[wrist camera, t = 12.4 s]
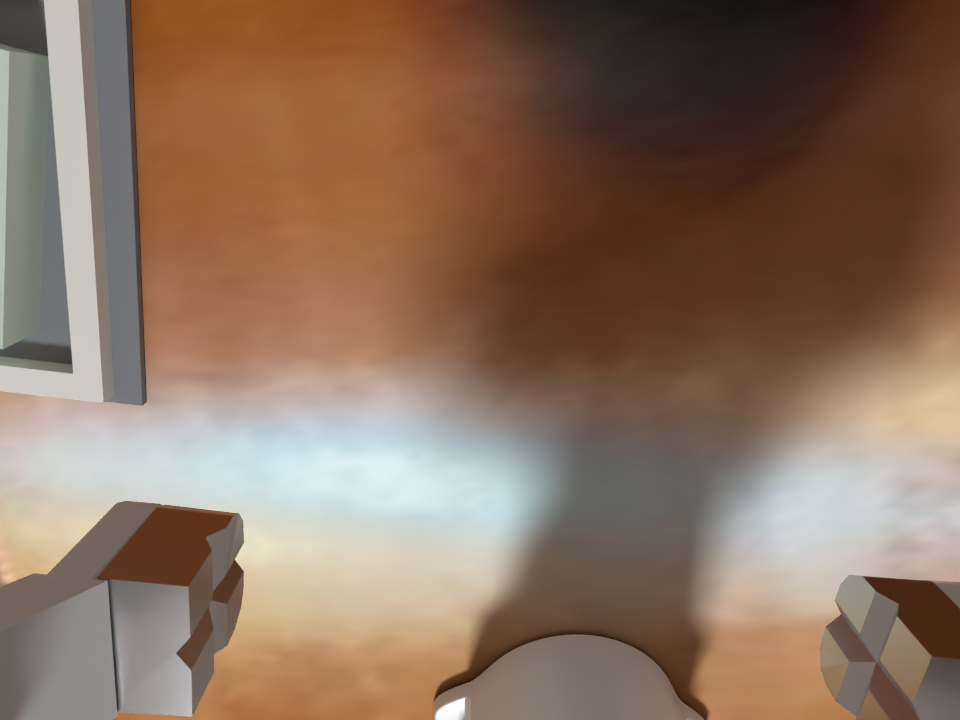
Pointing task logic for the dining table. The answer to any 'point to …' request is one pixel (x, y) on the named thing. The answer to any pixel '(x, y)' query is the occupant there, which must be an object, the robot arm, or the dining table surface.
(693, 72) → the dining table surface
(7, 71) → the pale green rectangular block
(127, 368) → the picture frame
